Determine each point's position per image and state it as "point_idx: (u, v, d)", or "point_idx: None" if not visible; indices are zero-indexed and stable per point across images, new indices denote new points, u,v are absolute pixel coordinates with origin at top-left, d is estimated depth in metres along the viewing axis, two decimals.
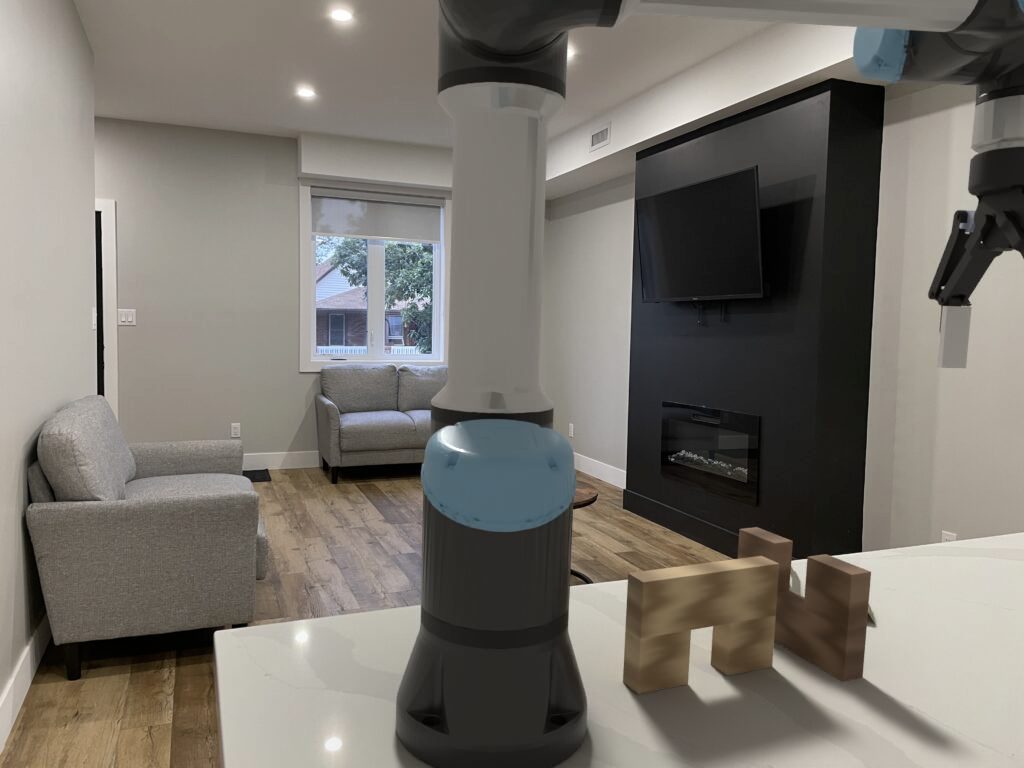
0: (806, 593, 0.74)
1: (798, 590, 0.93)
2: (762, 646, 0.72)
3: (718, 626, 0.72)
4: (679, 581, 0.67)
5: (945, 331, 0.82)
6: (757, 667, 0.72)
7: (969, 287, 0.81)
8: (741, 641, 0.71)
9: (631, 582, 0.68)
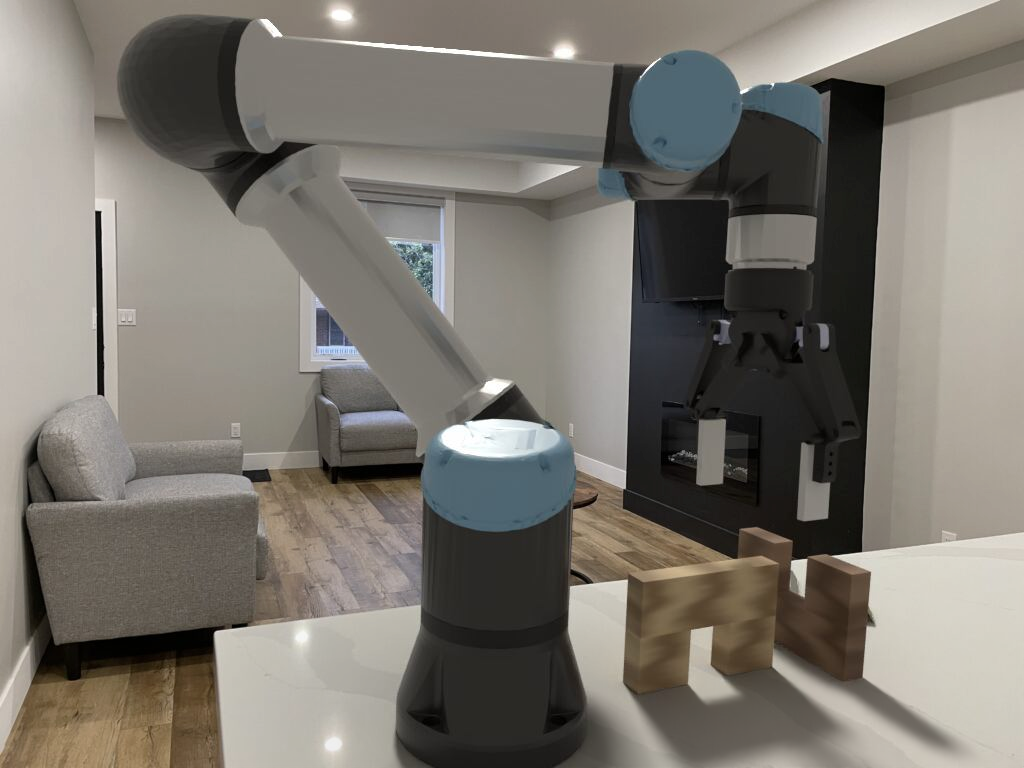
0: (806, 593, 0.74)
1: (796, 590, 0.93)
2: (762, 646, 0.72)
3: (718, 626, 0.72)
4: (679, 581, 0.67)
5: (703, 447, 0.76)
6: (757, 667, 0.72)
7: (724, 400, 0.76)
8: (741, 641, 0.71)
9: (631, 582, 0.68)
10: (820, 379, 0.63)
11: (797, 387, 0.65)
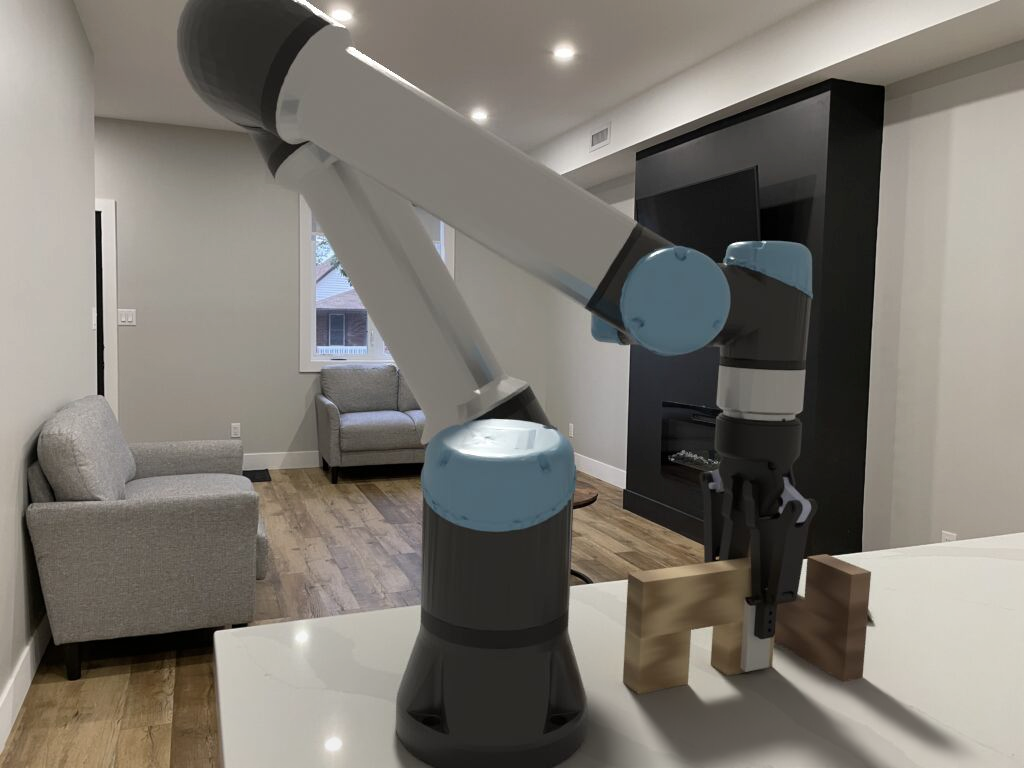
0: (806, 593, 0.74)
1: None
2: None
3: (718, 626, 0.72)
4: (679, 581, 0.67)
5: None
6: None
7: None
8: (741, 641, 0.71)
9: (631, 582, 0.68)
10: (781, 553, 0.67)
11: (761, 548, 0.69)
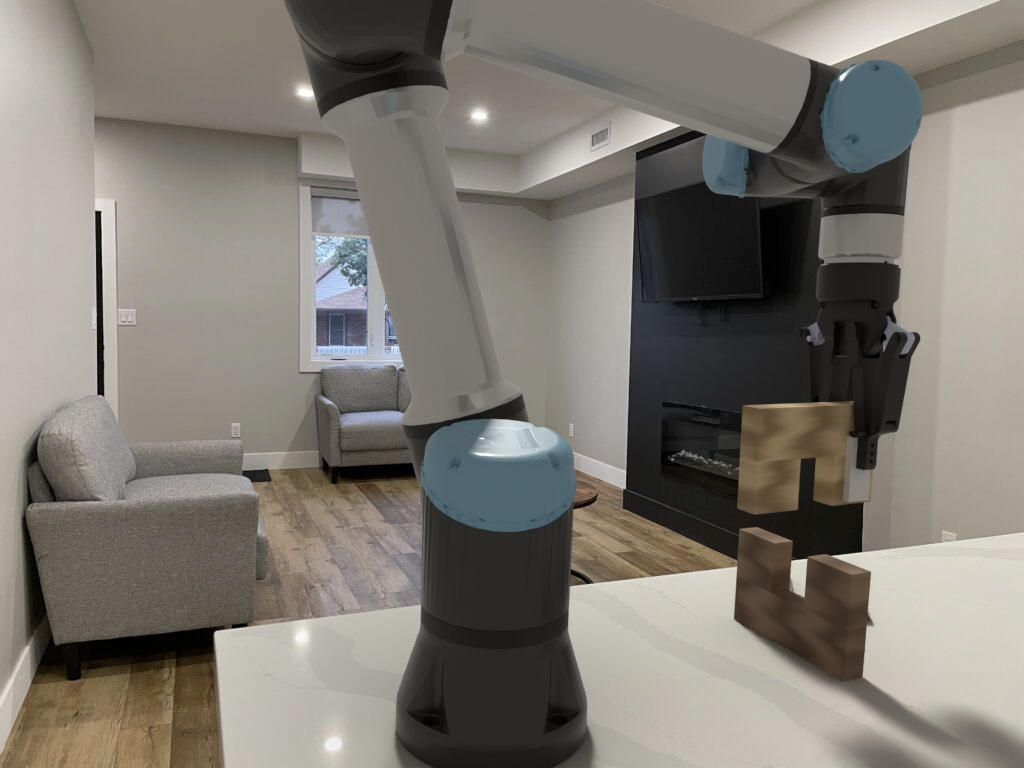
0: (806, 593, 0.74)
1: (792, 590, 0.92)
2: None
3: (821, 462, 0.77)
4: (791, 411, 0.73)
5: None
6: (857, 501, 0.78)
7: None
8: None
9: (746, 412, 0.73)
10: (886, 382, 0.72)
11: (863, 384, 0.74)
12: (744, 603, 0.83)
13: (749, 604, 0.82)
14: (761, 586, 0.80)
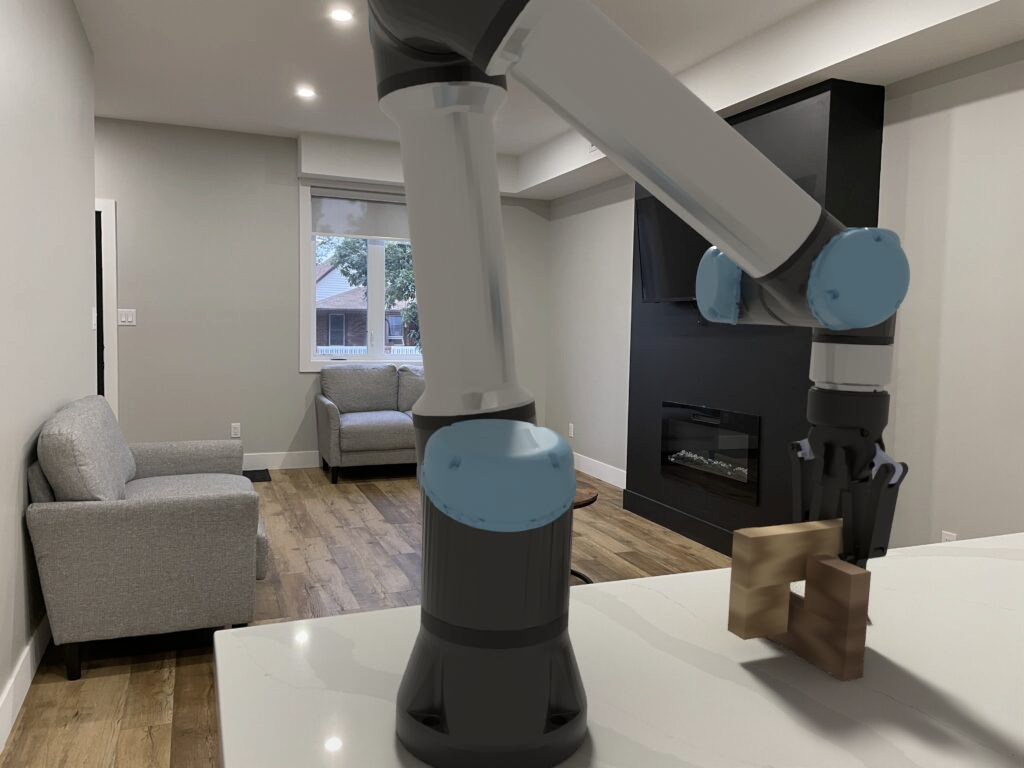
0: (806, 593, 0.74)
1: None
2: None
3: None
4: (781, 538, 0.74)
5: None
6: None
7: None
8: None
9: (737, 538, 0.74)
10: (874, 511, 0.73)
11: (852, 509, 0.76)
12: None
13: None
14: None
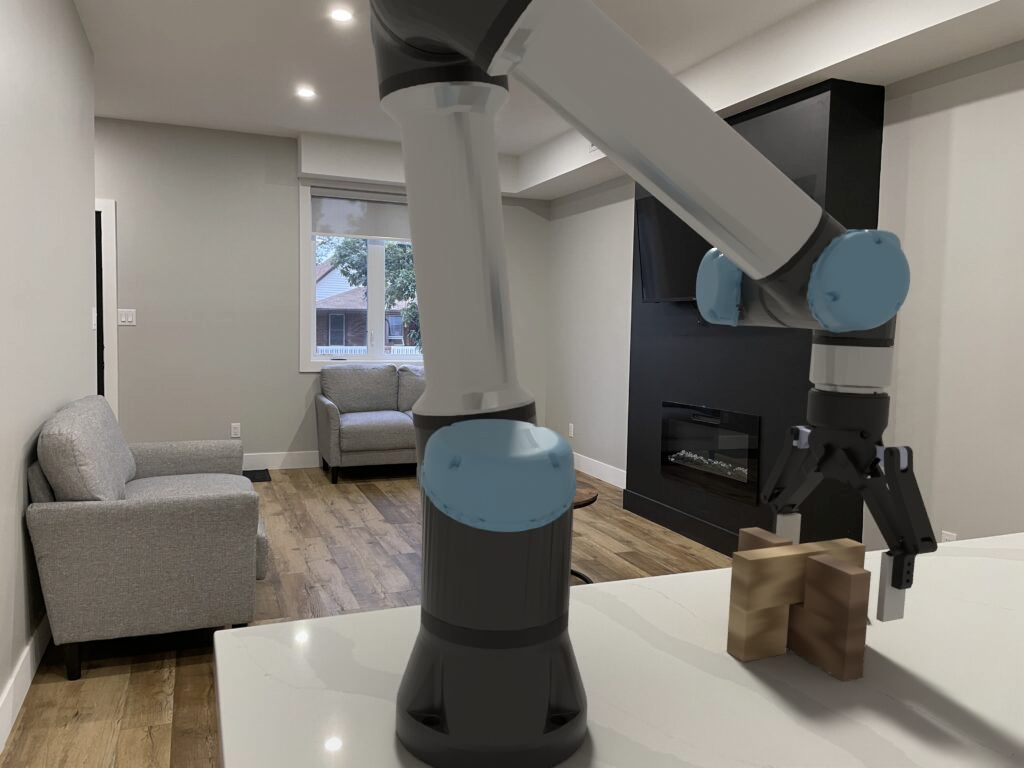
0: (806, 593, 0.74)
1: None
2: None
3: None
4: (780, 560, 0.74)
5: None
6: None
7: (800, 498, 0.84)
8: None
9: (736, 560, 0.74)
10: (901, 498, 0.71)
11: (877, 501, 0.73)
12: None
13: None
14: None
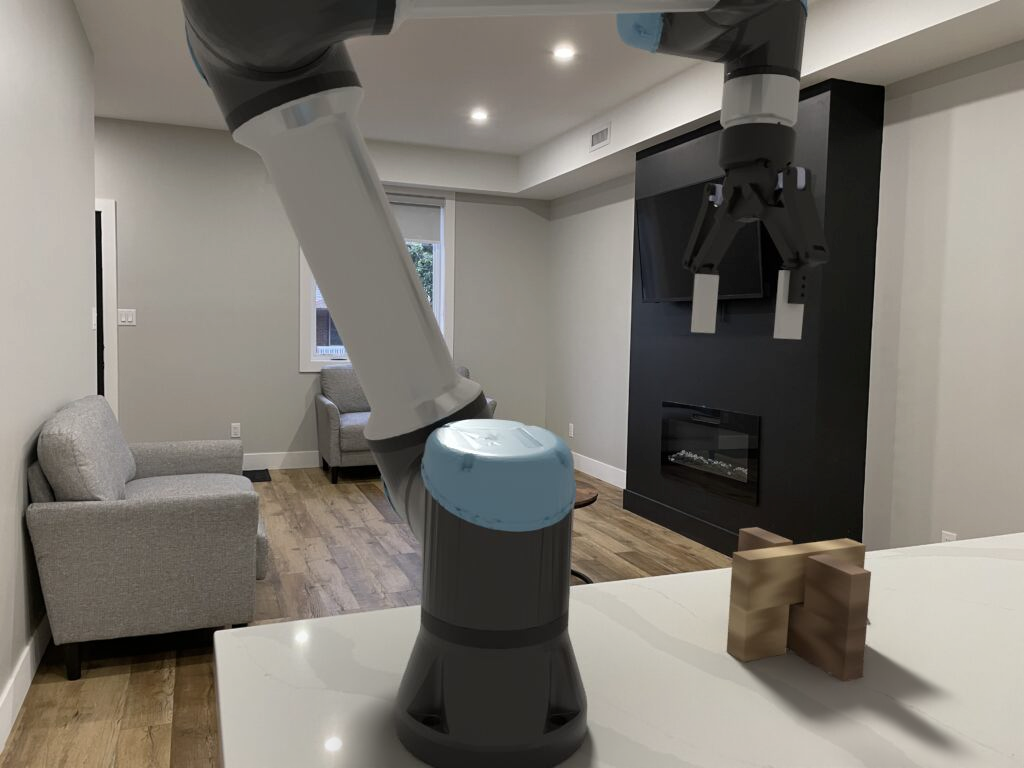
0: (806, 593, 0.74)
1: None
2: None
3: None
4: (780, 560, 0.74)
5: (697, 298, 0.86)
6: None
7: (717, 256, 0.86)
8: None
9: (736, 560, 0.74)
10: (795, 211, 0.72)
11: (777, 224, 0.75)
12: None
13: None
14: None
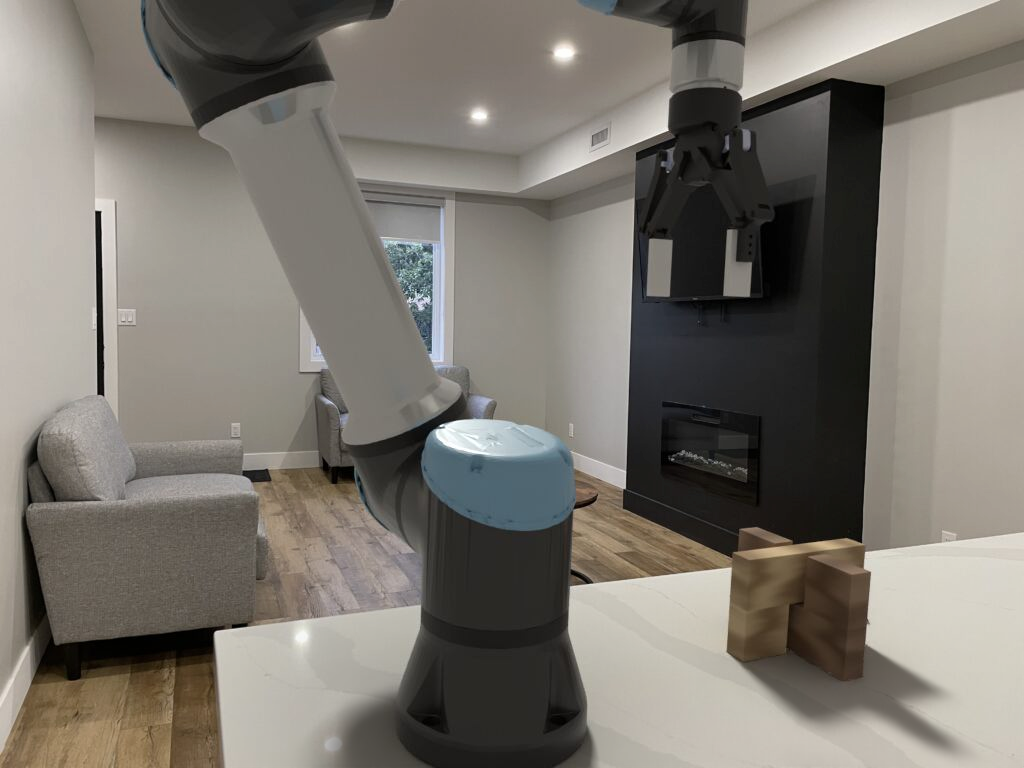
0: (806, 593, 0.74)
1: None
2: None
3: None
4: (780, 560, 0.74)
5: (652, 262, 0.89)
6: None
7: (670, 221, 0.88)
8: None
9: (736, 560, 0.74)
10: (741, 171, 0.75)
11: (724, 185, 0.77)
12: None
13: None
14: None
